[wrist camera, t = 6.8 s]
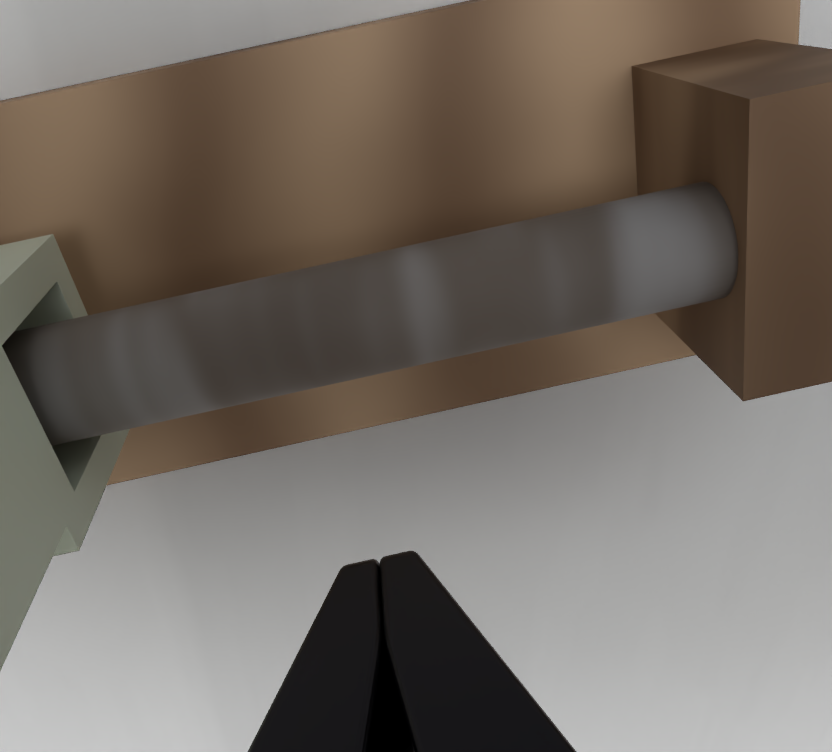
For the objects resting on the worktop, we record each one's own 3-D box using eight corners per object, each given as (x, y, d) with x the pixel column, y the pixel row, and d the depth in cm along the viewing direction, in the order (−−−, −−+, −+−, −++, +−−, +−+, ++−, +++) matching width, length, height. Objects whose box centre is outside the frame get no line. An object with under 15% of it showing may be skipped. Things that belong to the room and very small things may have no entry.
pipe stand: (779, -66, 18) (999, -87, 12) (765, 321, 22) (919, 439, 17) (-464, 200, 17) (-852, 309, 12) (-212, 537, 22) (-398, 733, 16)
